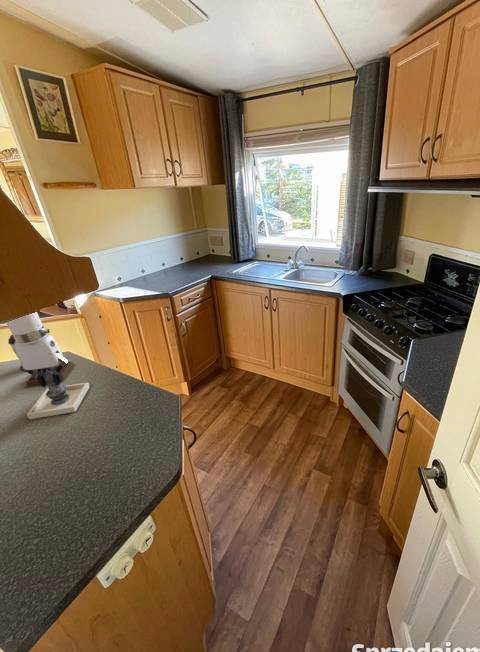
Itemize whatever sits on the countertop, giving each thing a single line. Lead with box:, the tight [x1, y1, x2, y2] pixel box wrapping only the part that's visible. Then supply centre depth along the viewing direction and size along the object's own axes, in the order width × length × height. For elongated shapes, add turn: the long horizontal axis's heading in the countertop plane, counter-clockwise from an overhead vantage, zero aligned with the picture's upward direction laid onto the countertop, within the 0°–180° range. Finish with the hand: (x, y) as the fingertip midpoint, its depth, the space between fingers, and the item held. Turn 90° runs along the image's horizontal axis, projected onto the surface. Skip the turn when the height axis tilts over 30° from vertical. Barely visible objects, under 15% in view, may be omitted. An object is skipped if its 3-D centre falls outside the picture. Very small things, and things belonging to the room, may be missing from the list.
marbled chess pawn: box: [43, 370, 69, 405], centre depth 96 cm, size 6×6×12 cm
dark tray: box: [25, 361, 74, 388], centre depth 114 cm, size 12×12×2 cm
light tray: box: [26, 382, 91, 420], centre depth 99 cm, size 14×14×2 cm
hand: (52, 383), depth 96 cm, fingers closed on marbled chess pawn, 3 cm apart
